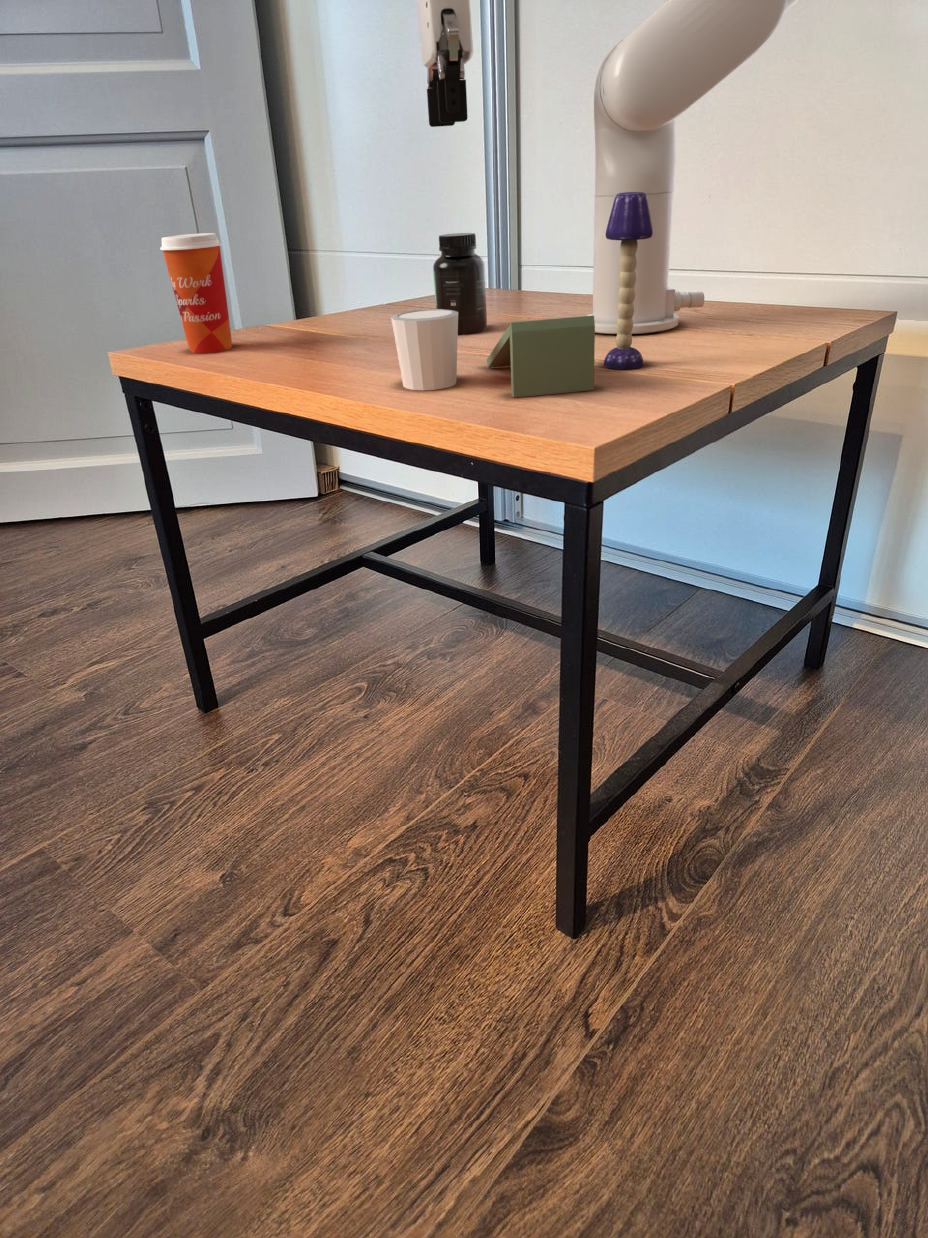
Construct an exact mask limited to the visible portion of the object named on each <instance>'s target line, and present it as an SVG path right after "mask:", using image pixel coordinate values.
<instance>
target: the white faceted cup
mask: <svg viewBox="0 0 928 1238" xmlns="http://www.w3.org/2000/svg"><path fill="white" fill-rule="evenodd" d="M390 320H391V326H392V331H393V335H394V342H395V347H396V351H397V352H396V355H397V358H398V364H399V370H400V375H401V380H402V386H403V388H405V389H407V390H412V391H436V390H442V389H443V390H444V389H447V388H450V387H453V386H455V385H456V384H457V377H458V376H457V373H458V372H457V371H458V368H457V367H458V337H459V336H458V335H459V334H458V312H456V311H453V310H443V309H436V308H431V309H430V308H429V309H416V310H409V311H404V312H400V313H396V314H394V315H391V318H390Z"/></svg>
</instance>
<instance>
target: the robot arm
mask: <svg viewBox="0 0 928 1238" xmlns="http://www.w3.org/2000/svg"><path fill="white" fill-rule="evenodd" d="M798 1H799V0H667V1H666V2H665V3H663V4H662V5H661V6H660V7H659V8H658V9H657V10H656V11H655V12H654V13H652V14H651V15H650V16H649V17H648V18H647V19H646V20H644V21H643V22H642V23H640V25H639V26H637V27H636V28H635V29H634V30H633V31H632V32H630V33H629V34H628V35H627V36H626V37H624V38H623V39H622V40H621V41H620V42H618V43H617V44H616V45H614V47H613V48H612V49H611V50H610V51H609V52H608V53H607V55H606V56H605V57H604V60H603V61H602V63H601V65H600V67H599V70H598V72H597V76H596V79H595V84H594V91H593V120H594V122H593V123H594V125H593V126H594V148H595V150H594V152H595V154H594V155H595V158H594V160H595V163H594V165H595V168H594V171H595V175H594V179H595V180H594V216H593V217H594V218H593V222H594V224H593V275H592V276H593V277H592V278H593V279H592V313H590V314H587V315H586V316H592V315H593V316H594V322H595V334H606V335H617V334H618V332H617V321H618V319H619V317H618V314H617V309H618V305H619V303H620V302H619V298H618V294H619V289H620V287H621V286H620V283H619V276H620V273H621V269H620V259H621V256H622V254H621V250H620V245H621V241H622V240H610V239H607V238H606V229H607V225H608V221H609V218H610V214H611V210H612V207H613V203H614V199H615V197H616V195H617V194H618V193H624V192H644V193H645V194H646V196H647V201H648V206H649V212H650V218H651V223H652V230H653V234H652V237H650V238H648V239H640V240H637V242H638V248H637V252H636V254H635V255H636V258H637V266H636V269H635V273H636V282H635V285H634V288H635V299H634V301H633V304H634V314H633V317H632V319H633V329H632V332H631V335H638V334H639V335H640V334H653V333H658V332H663V331H668V330H671V329H674V328H676V327H677V326H678V325H679V315H678V314H676V312H679V311H681V309H684V308H688V309H691V308H692V309H693V308H702V307H703V306H704V304H705V293H704V291H702V290H701V291H700V290H699V291H689V292H686V291H682V292H680V291H679V290H676V288H674V287H670V286H669V278H670V263H671V261H670V259H671V242H672V241H671V240H672V225H673V208H674V192H675V182H676V181H675V180H676V179H675V178H676V154H677V153H676V150H677V149H676V146H677V145H676V143H677V142H676V119H677V118H679V117H680V116H681V115H682V114H683V113H685V112H686V111H688V109H690V108H691V107H693V105H695V104H696V103H697V102H698V101H699V100H701V99H702V98H703V97H705V96H706V95H707V94H708V93H709V92H711V91H712V90H713V89H714V88H716V87H717V86H718V85H719V84H720V83H722V82H723V81H724V80H725V79H726V78H728V76H730V75H731V74H732V73H734V71H736V70H737V69H739V67H741V66H742V65H743V64H744V63H745V62H747V61H748V60H749V59H750V58H751V57H752V56H754V55H755V54H756V53H757V52H758V51H760V49H762V47H763V46H764V45H766V43H767V42H768V41H770V39H771V38H772V37H773V35H774V34H775V33H776V31H777V30H778V28H779V25H780V24H781V22H782V20H783V18H784V15H785V13H786V12H787V11H788V10H789V9H791V8H792V7H793V6H794V5H795V4H796V3H797V2H798ZM416 3H417V16H418V17H417V21H418V31H419V42H420V52H421V59H422V65H423V66H424V67H425V68H426V69H427V74H426V75H427V76H426V77H427V78H426V79H427V88H426V97H427V98H426V99H427V114H428V125H429V126H430V127H431V128H437V127H439V128H440V127H452V126H454V125H455V124H456V123H462V122H466V121H467V120H468V98H467V97H468V96H467V79H465V78H466V71H465V65H466V64H467V63H468V62H469V61H470V60H471V59H472V58H473V56H474V40H473V39H474V38H473V27H472V26H473V25H472V13H471V0H416Z"/></svg>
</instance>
